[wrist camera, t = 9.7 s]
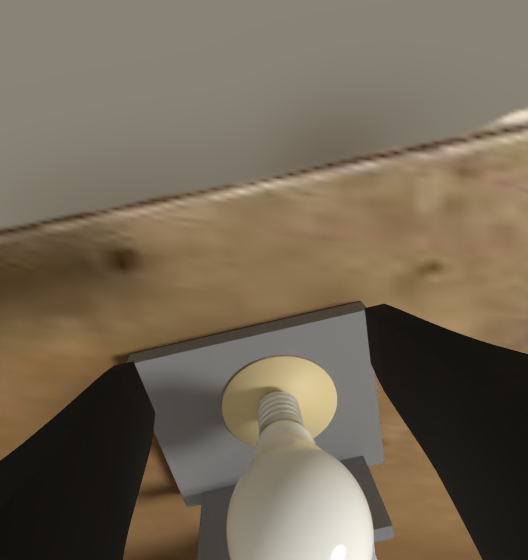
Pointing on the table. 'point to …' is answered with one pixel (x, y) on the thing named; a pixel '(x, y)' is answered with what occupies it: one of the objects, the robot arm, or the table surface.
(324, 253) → the table surface
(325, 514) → the lightbulb
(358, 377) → the lamp base
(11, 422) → the table surface
